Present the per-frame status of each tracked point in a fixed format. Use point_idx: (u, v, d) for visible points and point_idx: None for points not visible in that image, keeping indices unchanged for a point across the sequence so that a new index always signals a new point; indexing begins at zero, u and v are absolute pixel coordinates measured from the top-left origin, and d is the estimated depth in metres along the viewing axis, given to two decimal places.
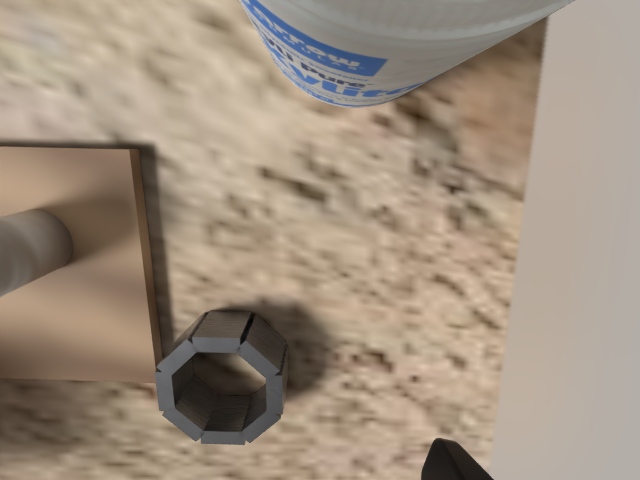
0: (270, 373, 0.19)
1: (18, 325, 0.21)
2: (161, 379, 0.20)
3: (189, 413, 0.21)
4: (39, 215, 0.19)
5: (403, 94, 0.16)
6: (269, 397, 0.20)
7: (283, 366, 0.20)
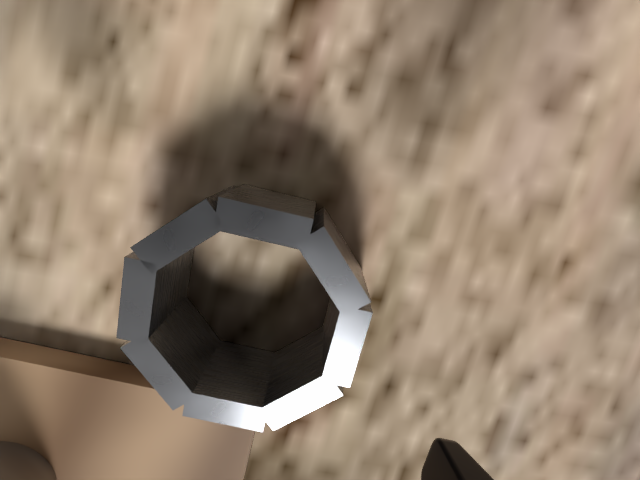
0: (209, 219, 0.09)
1: None
2: (199, 410, 0.11)
3: (288, 386, 0.11)
4: None
5: None
6: (267, 234, 0.10)
7: (229, 193, 0.10)
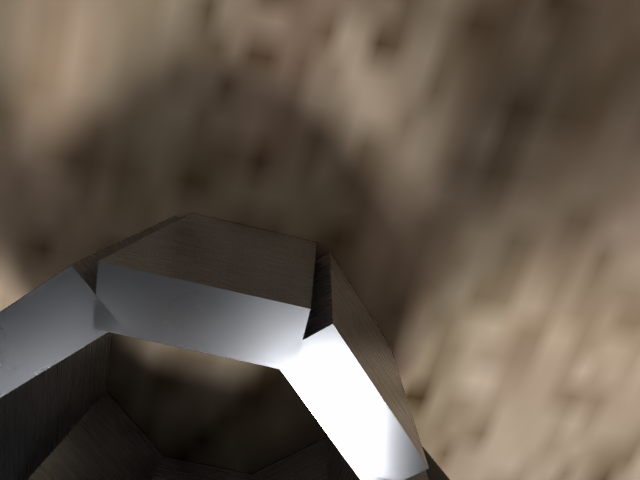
0: (83, 307, 0.04)
1: None
2: None
3: None
4: None
5: None
6: (211, 340, 0.04)
7: (141, 244, 0.05)
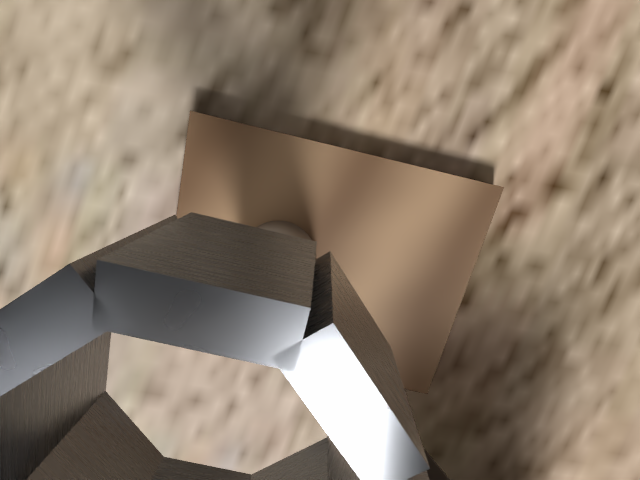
0: (82, 307, 0.04)
1: None
2: None
3: None
4: None
5: None
6: (210, 339, 0.04)
7: (140, 243, 0.05)
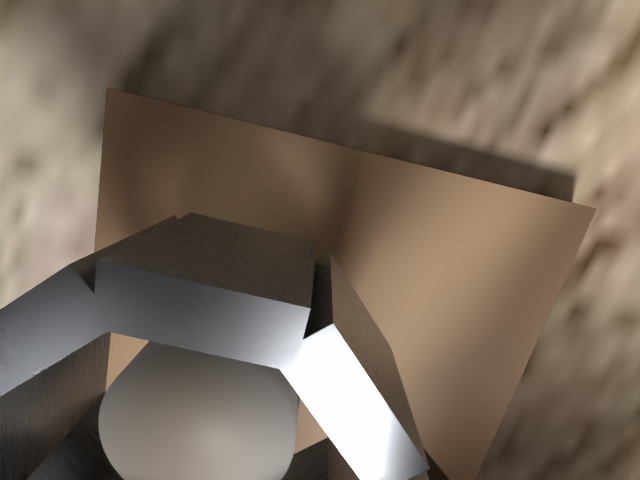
0: (82, 307, 0.04)
1: None
2: None
3: None
4: None
5: None
6: (210, 339, 0.04)
7: (140, 243, 0.05)
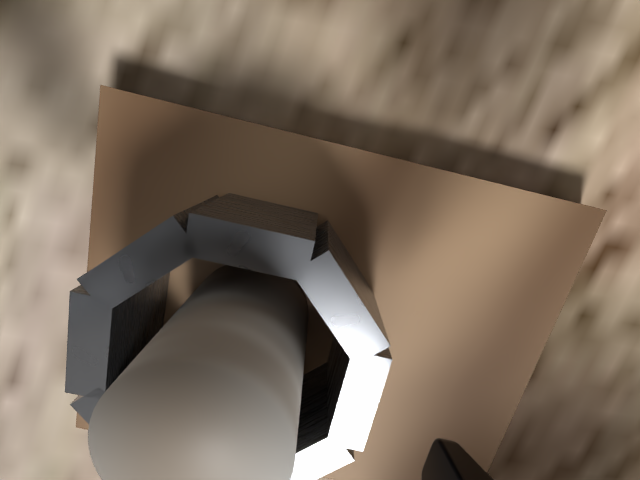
0: (178, 242, 0.07)
1: (395, 414, 0.12)
2: None
3: None
4: None
5: None
6: (254, 262, 0.07)
7: None
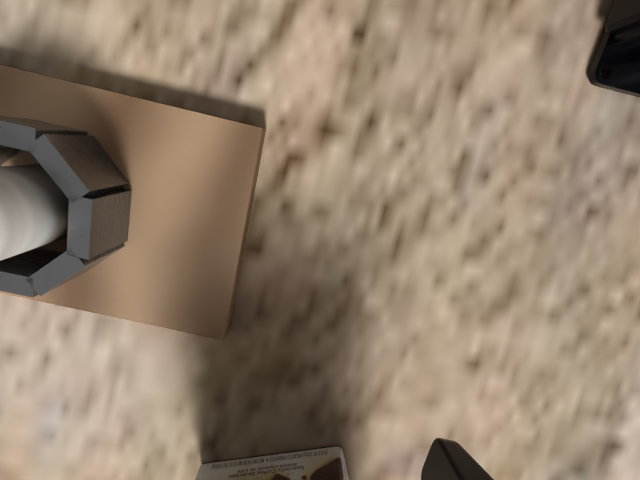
0: None
1: (160, 270, 0.18)
2: None
3: (51, 263, 0.15)
4: None
5: None
6: (5, 141, 0.13)
7: None
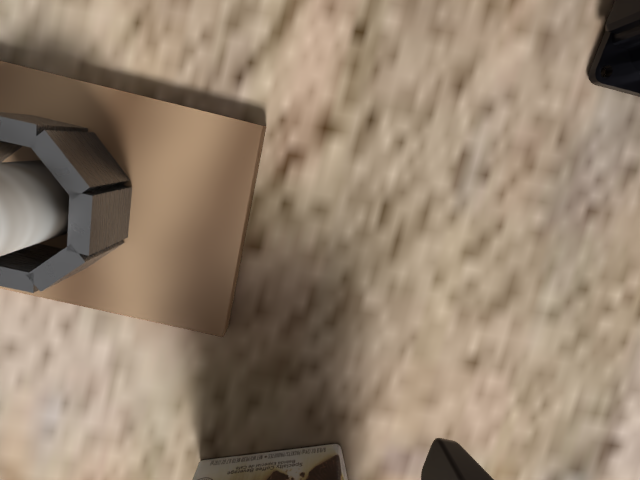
0: None
1: (160, 267, 0.18)
2: None
3: (51, 259, 0.15)
4: None
5: None
6: (7, 136, 0.14)
7: None
